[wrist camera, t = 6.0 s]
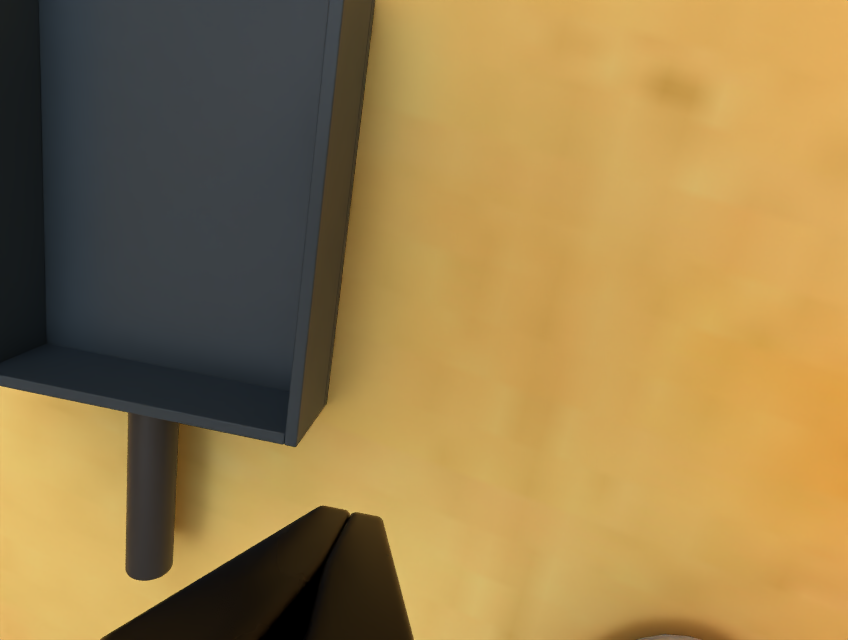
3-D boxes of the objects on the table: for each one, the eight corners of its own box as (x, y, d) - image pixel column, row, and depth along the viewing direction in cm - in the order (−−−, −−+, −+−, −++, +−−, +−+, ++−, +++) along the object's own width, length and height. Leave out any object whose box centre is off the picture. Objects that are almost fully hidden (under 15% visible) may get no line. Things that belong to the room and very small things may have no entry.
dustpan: (307, 564, 24) (49, 506, 25) (375, -1, 18) (35, -51, 19) (276, 629, 20) (-21, 560, 21) (347, -35, 15) (-63, -94, 16)
